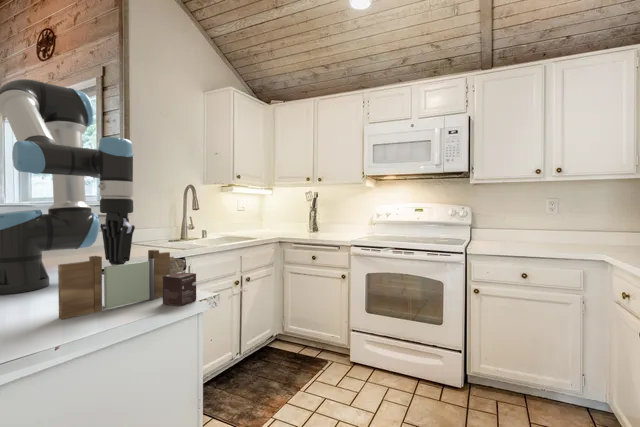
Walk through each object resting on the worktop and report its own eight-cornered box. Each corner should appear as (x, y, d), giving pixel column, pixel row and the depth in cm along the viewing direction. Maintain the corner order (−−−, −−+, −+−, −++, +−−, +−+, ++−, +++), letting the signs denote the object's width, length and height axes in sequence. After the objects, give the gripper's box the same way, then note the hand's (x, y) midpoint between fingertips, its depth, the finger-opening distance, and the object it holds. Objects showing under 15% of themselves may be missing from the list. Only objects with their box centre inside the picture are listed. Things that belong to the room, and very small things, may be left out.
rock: (144, 281, 108) (154, 250, 111) (140, 281, 113) (149, 251, 116) (183, 288, 115) (191, 259, 118) (177, 287, 120) (185, 259, 123)
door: (152, 298, 93) (152, 258, 93) (154, 299, 92) (154, 258, 92) (104, 310, 83) (104, 264, 83) (106, 310, 82) (106, 265, 82)
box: (180, 306, 86) (180, 277, 86) (161, 304, 89) (161, 275, 88) (197, 300, 92) (196, 273, 92) (179, 298, 94) (179, 271, 94)
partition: (58, 317, 77) (57, 260, 77) (165, 293, 99) (165, 248, 99) (63, 319, 76) (62, 261, 76) (170, 294, 98) (170, 249, 97)
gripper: (89, 198, 90) (90, 287, 91) (114, 197, 83) (115, 294, 83) (118, 198, 96) (119, 282, 97) (144, 198, 89) (145, 288, 90)
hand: (117, 287), depth 90 cm, fingers closed
